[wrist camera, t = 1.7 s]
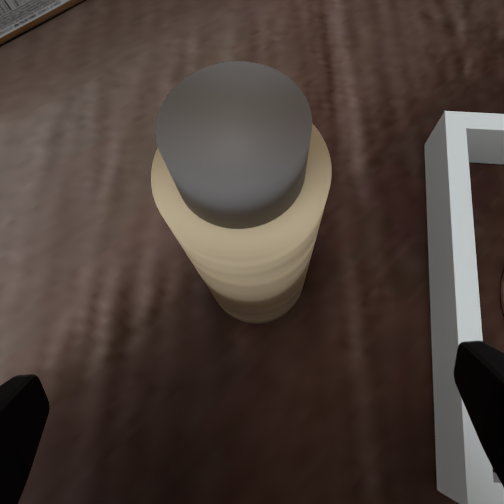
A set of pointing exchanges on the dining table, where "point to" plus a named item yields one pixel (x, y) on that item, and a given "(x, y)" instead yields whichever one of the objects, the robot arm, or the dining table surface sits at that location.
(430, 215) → the white square frame
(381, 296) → the dining table surface
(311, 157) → the pepper mill
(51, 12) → the tin
